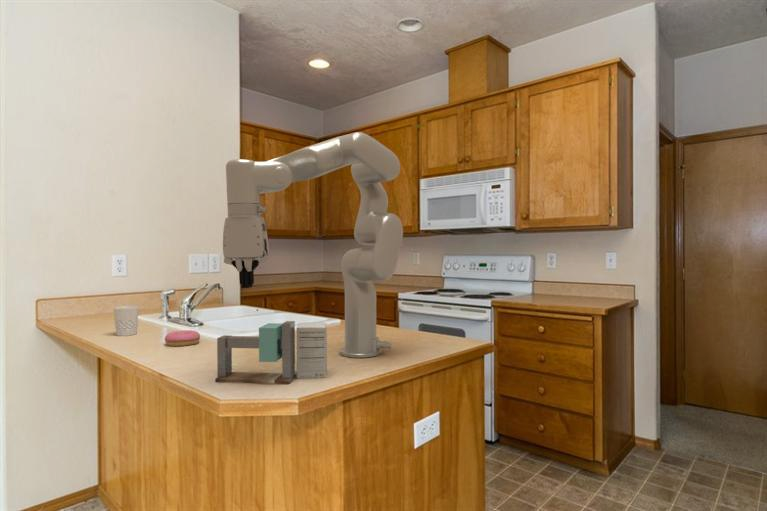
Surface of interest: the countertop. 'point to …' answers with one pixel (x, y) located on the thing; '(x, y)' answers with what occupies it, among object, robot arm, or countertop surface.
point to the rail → (283, 343)
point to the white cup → (126, 320)
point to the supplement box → (311, 350)
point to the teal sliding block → (269, 342)
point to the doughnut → (182, 338)
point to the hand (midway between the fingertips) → (247, 287)
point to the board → (254, 378)
